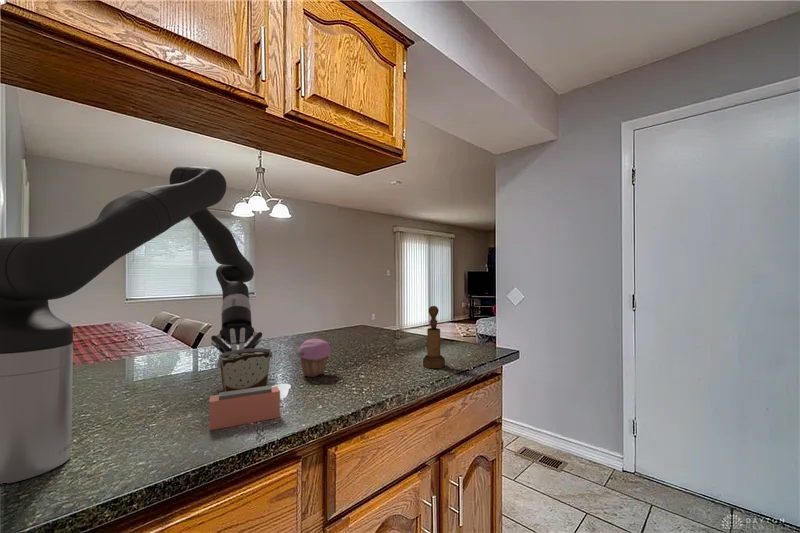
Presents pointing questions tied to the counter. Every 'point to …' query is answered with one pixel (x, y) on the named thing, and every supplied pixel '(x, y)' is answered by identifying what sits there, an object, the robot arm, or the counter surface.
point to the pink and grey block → (244, 406)
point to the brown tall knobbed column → (433, 343)
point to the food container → (244, 368)
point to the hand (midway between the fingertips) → (238, 366)
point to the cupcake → (314, 356)
